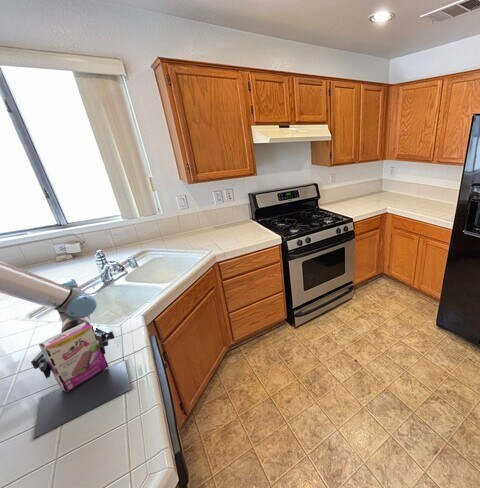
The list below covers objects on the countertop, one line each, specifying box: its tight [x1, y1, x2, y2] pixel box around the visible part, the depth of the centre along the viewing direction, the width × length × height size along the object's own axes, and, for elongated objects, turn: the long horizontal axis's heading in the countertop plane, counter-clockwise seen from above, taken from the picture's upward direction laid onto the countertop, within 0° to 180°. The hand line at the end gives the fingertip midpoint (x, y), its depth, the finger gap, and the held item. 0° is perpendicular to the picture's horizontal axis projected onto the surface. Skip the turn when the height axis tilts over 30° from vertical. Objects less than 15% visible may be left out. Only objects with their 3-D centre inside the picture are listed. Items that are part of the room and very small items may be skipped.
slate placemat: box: [34, 360, 132, 439], centre depth 77 cm, size 20×16×1 cm
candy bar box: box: [38, 322, 109, 392], centre depth 80 cm, size 11×5×16 cm, turn 154°
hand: (75, 361), depth 77 cm, fingers closed on candy bar box, 12 cm apart
